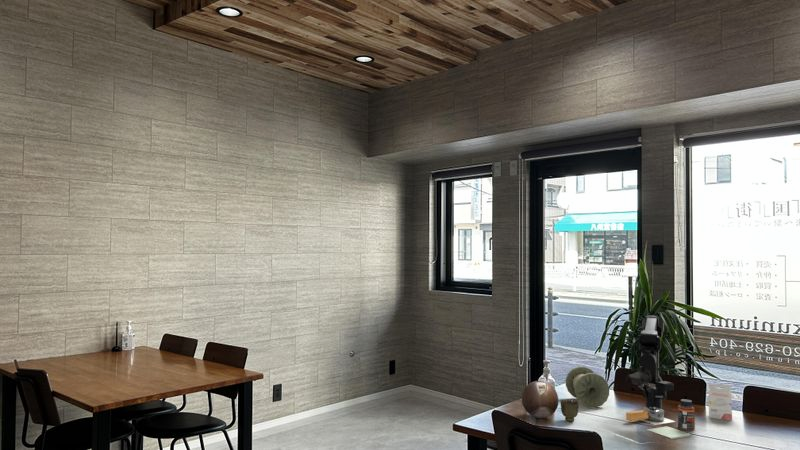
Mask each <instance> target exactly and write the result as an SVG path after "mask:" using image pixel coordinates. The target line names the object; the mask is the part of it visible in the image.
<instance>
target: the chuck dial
mask: <svg viewBox="0 0 800 450" xmlns="http://www.w3.org/2000/svg"><path fill="white" fill-rule="evenodd" d="M664 411H665V409H663V408H662V409H660V408H657V407H646V406H644V407H642V409H640V410H633V411H627V412H625V413H626V416H625V417H626V418H625V420H626V421H628V422H636V421H641V420H643V419H644V420H647V421H651V422H663V421H664V418H665V412H664Z"/></svg>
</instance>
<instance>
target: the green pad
mask: <svg viewBox="0 0 800 450" xmlns="http://www.w3.org/2000/svg"><path fill="white" fill-rule="evenodd" d="M646 430H647V431H648V432H652V433H655V434H658V435H661V436H664V437H666V438H667V439H668V440H676V439H681V438H686V437H687V436H688V437H692V433H688V432H686V431H684V430H683V431H682V430H681V429H680V430H679V429H677V428H673V427H671V426H666V425H665V426H661V427H654V428H648V429H646ZM688 437H687V438H688Z"/></svg>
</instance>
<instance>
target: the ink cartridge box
mask: <svg viewBox="0 0 800 450" xmlns="http://www.w3.org/2000/svg"><path fill="white" fill-rule="evenodd" d="M719 387H721V388H719ZM731 387H732V386H731V385H730V384H723V383H711V382H710V383H708V390H707V391H708V392H707V394H708V417H709V418H710V419H711V418H713V419H719V420H727V421H731V420H732V421H733V408H732V406H733V405H732V391H731Z"/></svg>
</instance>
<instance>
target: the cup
mask: <svg viewBox="0 0 800 450" xmlns="http://www.w3.org/2000/svg"><path fill="white" fill-rule="evenodd" d="M559 403H560V408H561V409H560V410H561V414H562V415H563V417H564V419H565V421H566V422H569V423H573V422H574V421H575V418H576V417H577V416H578V414H579V408H580V403H579V401H578V400H574V399H573V400H571V399H561V400H560V401H559Z"/></svg>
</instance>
